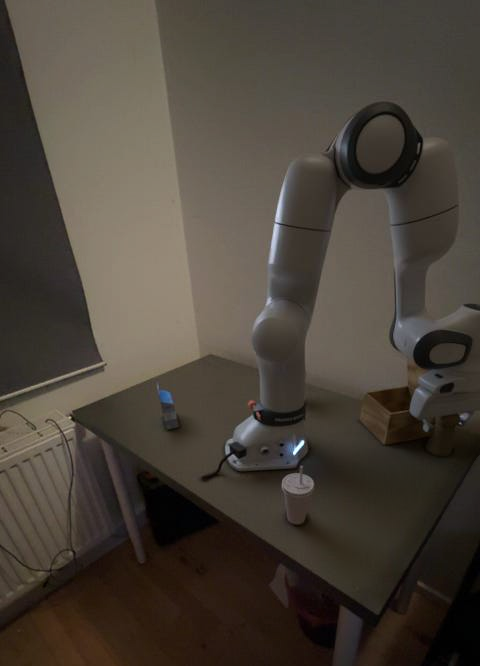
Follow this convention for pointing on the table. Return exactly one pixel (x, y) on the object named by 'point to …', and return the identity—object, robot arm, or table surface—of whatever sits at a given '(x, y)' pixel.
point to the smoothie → (297, 495)
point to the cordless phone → (168, 409)
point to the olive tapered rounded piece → (443, 435)
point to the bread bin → (392, 415)
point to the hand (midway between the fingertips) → (443, 427)
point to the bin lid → (414, 374)
